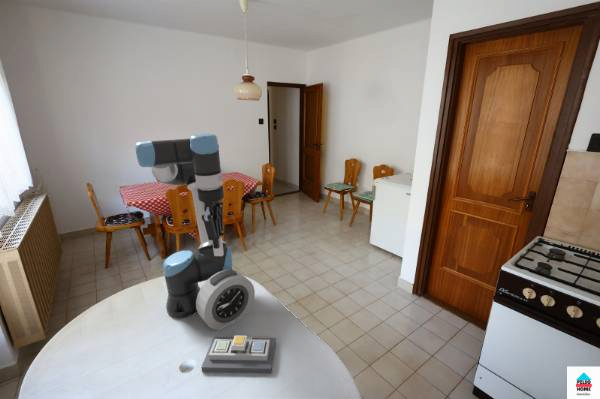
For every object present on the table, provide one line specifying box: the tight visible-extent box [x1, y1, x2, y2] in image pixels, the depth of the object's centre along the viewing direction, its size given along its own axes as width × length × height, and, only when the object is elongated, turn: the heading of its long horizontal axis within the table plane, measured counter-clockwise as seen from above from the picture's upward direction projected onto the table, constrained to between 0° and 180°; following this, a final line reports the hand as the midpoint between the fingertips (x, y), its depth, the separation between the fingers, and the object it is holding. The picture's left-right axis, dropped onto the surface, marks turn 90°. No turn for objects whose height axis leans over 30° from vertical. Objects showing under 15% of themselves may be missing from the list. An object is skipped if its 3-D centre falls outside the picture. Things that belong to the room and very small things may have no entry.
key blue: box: [251, 342, 265, 354], centre depth 92 cm, size 4×4×2 cm
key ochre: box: [232, 335, 248, 350], centre depth 92 cm, size 4×4×2 cm
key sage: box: [214, 341, 230, 353], centre depth 93 cm, size 4×4×2 cm
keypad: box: [201, 336, 277, 374], centre depth 93 cm, size 22×12×4 cm, turn 88°
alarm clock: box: [196, 269, 256, 331], centre depth 108 cm, size 21×8×20 cm, turn 132°
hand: (219, 254), depth 92 cm, fingers closed
